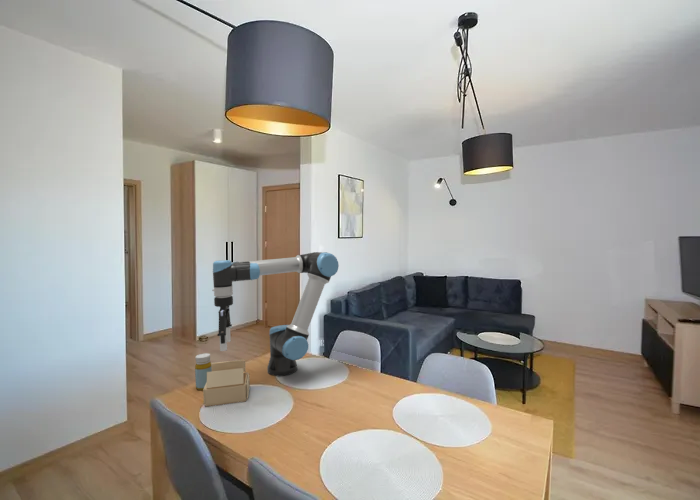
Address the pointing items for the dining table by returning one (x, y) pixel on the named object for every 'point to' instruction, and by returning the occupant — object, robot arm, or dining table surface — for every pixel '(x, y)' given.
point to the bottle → (202, 370)
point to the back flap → (228, 365)
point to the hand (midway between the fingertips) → (225, 346)
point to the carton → (227, 393)
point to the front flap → (225, 377)
